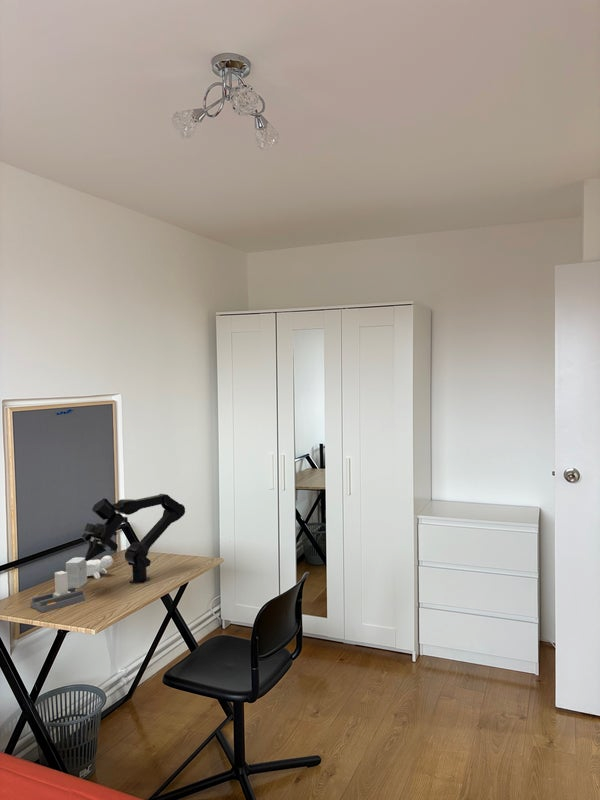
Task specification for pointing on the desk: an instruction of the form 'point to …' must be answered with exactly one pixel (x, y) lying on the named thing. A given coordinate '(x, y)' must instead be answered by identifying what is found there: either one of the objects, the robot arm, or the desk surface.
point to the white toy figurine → (98, 566)
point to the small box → (76, 572)
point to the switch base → (57, 600)
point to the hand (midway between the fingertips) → (85, 560)
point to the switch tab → (61, 584)
